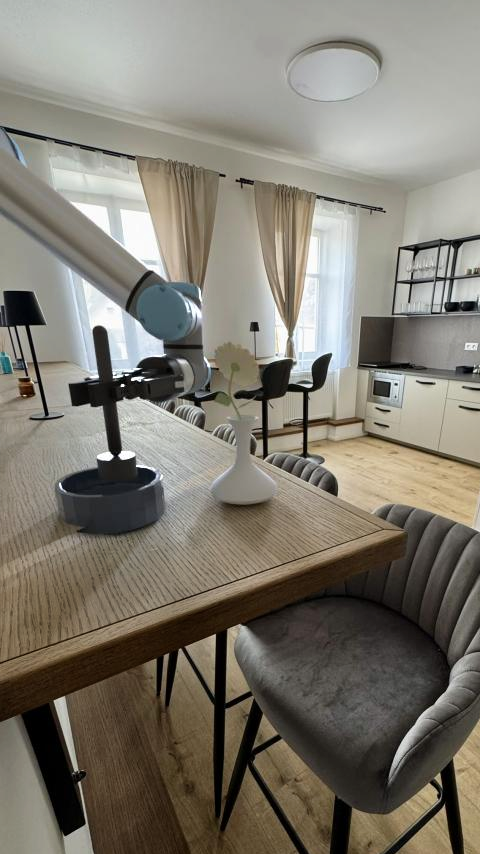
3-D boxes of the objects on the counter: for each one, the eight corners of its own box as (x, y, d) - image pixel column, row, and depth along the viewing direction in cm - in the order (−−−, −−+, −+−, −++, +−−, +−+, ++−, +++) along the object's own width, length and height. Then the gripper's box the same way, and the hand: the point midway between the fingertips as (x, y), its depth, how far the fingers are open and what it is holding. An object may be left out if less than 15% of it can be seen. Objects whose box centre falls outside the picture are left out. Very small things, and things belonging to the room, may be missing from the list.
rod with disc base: (91, 477, 58) (66, 324, 51) (119, 468, 62) (100, 325, 55) (118, 483, 56) (96, 324, 49) (145, 473, 60) (129, 326, 53)
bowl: (39, 524, 59) (30, 485, 57) (117, 493, 72) (112, 460, 69) (113, 547, 54) (106, 504, 51) (184, 508, 66) (181, 472, 63)
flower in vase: (291, 500, 70) (294, 342, 60) (234, 517, 63) (229, 342, 54) (246, 480, 79) (244, 341, 70) (193, 493, 72) (182, 340, 63)
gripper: (206, 401, 72) (143, 429, 50) (126, 398, 74) (33, 423, 52) (204, 356, 69) (136, 364, 47) (121, 354, 71) (20, 361, 49)
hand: (82, 395), depth 50 cm, fingers closed on rod with disc base, 2 cm apart
